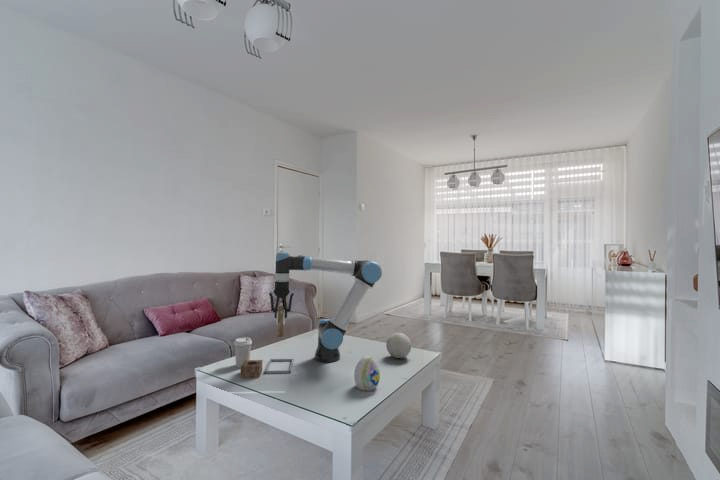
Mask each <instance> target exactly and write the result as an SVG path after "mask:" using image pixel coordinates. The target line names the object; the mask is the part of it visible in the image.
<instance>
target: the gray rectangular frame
mask: <svg viewBox="0 0 720 480" xmlns="http://www.w3.org/2000/svg"><path fill="white" fill-rule="evenodd" d="M294 360H295V359H294V358H270V359H269V361H268V364H267V365H266V368H265V370H264V374H265V375H268V374H269V375H272V374H274V375H276V374H279V375H282V374H285V375H286V374H291V373H292V368H293V365H294ZM272 362H273V363H276V362H277V363H278V362H279V363H280V362H284V363H285V362H290V365H289V369H287V370H269V369H270V366H271V364H272Z"/></svg>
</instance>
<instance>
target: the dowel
mask: <svg viewBox="0 0 720 480" xmlns="http://www.w3.org/2000/svg"><path fill="white" fill-rule="evenodd" d="M277 312H278V325H277V338H283V336H284V325H283V312H285V310H284V305H281V306H278V311H277Z"/></svg>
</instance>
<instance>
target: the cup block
mask: <svg viewBox="0 0 720 480" xmlns="http://www.w3.org/2000/svg"><path fill="white" fill-rule="evenodd" d="M262 372H263V359H250V360H245V361H244V362H243V364H242V365H241V368H240V379H253V378H254V379H256V378H257V379H259V378H260V377H261V374H262Z"/></svg>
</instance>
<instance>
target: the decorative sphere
mask: <svg viewBox="0 0 720 480" xmlns="http://www.w3.org/2000/svg"><path fill="white" fill-rule="evenodd" d="M411 349H412V342H411V340H410V338H409V337H408V336H407V334H405V333H403V332H395V333H392V334H391V335H390V336H388V338H387V340H386V350H387V352H388V354H389V355H390V356H391V357H393V358H394V357H395V359H398V358H400V359H405V357H407V356H409V354H410V353H411V351H412V350H411Z"/></svg>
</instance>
